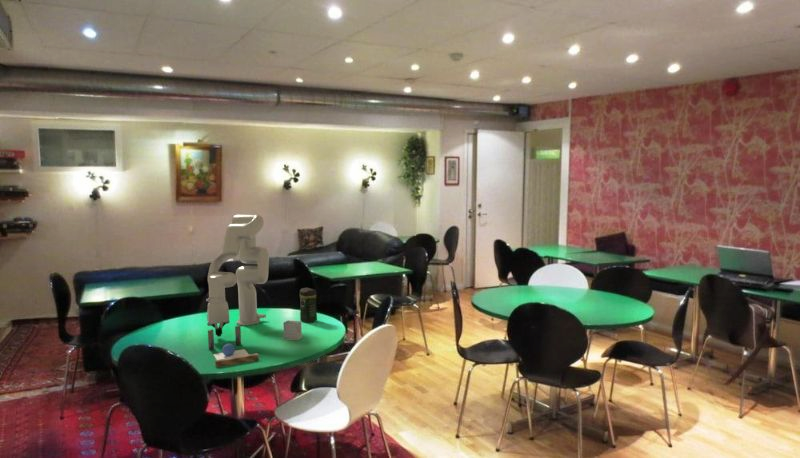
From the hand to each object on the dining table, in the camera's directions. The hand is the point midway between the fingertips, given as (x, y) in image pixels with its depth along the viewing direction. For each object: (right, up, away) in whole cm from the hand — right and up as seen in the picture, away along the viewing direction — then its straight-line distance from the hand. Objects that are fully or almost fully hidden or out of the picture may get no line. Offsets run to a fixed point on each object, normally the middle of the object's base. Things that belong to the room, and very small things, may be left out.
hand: (218, 335), depth 273 cm
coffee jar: (+40, +2, +32) cm, 51 cm away
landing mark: (+15, -4, -27) cm, 31 cm away
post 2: (+13, -2, -10) cm, 16 cm away
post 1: (+2, -3, -16) cm, 16 cm away
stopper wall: (+20, -5, -36) cm, 41 cm away
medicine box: (+37, -2, -1) cm, 37 cm away
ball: (+13, -1, -26) cm, 29 cm away
